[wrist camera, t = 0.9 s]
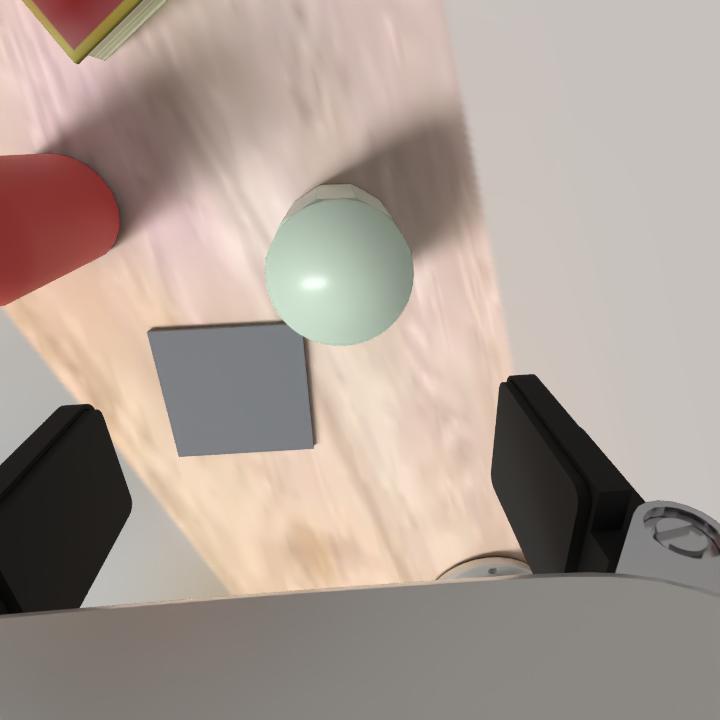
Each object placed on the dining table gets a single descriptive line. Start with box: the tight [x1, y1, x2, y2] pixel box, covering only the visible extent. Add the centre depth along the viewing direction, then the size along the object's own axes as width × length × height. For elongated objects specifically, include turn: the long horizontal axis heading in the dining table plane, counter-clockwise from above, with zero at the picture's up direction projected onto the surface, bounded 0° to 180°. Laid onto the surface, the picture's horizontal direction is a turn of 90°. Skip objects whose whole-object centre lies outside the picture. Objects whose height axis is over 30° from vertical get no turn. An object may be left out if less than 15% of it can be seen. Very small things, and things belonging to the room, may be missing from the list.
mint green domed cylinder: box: [265, 184, 414, 346], centre depth 28 cm, size 8×8×8 cm
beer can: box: [0, 153, 120, 306], centre depth 24 cm, size 7×7×12 cm
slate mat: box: [147, 323, 314, 457], centre depth 36 cm, size 11×11×1 cm
